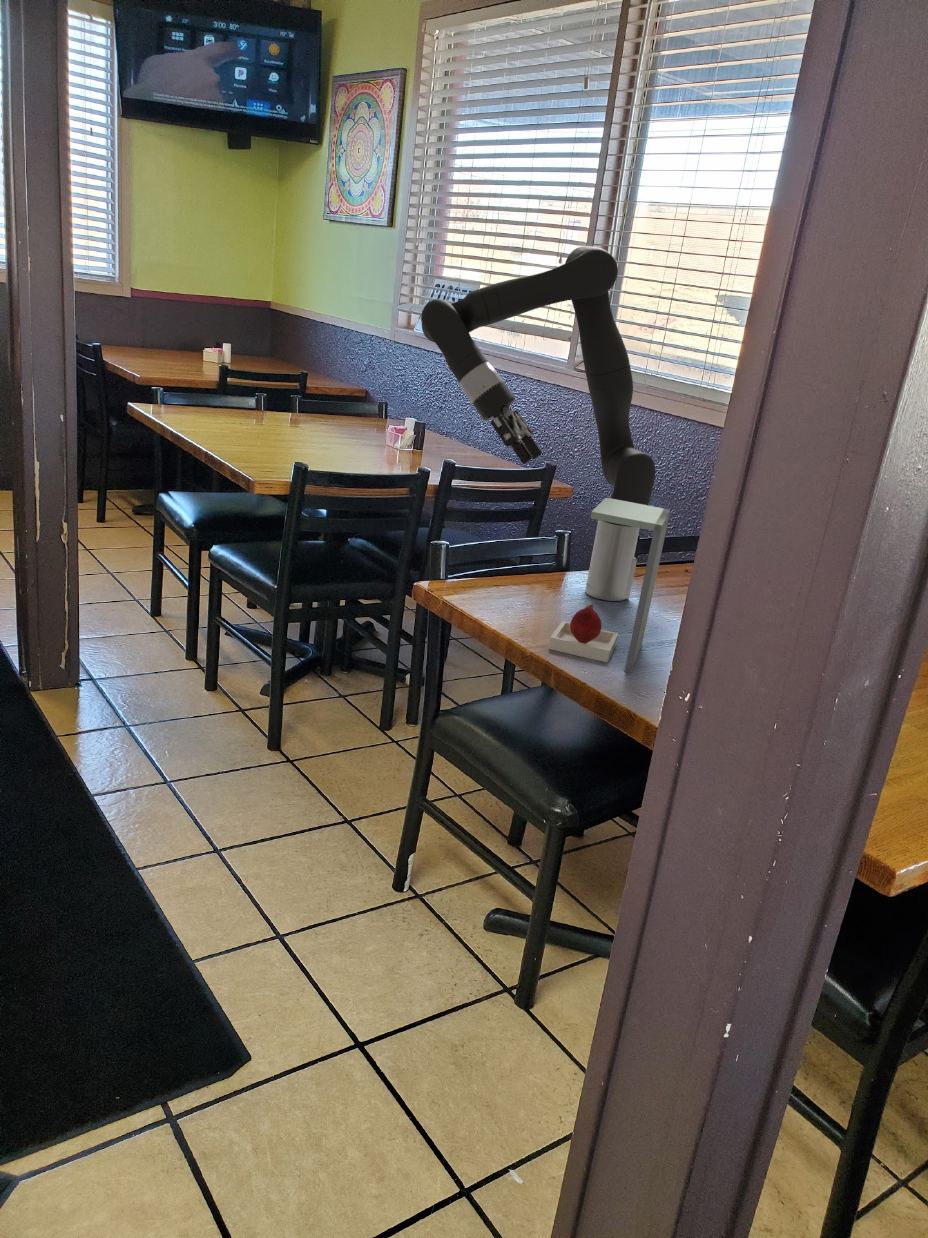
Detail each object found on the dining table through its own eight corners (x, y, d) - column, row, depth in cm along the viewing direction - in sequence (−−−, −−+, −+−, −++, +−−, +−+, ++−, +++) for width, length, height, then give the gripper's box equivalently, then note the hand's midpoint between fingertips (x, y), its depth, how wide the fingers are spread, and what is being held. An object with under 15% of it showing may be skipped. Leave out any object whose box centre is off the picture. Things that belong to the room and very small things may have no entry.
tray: (548, 648, 172) (550, 637, 171) (560, 631, 182) (562, 620, 181) (607, 662, 169) (609, 650, 168) (616, 644, 179) (618, 633, 178)
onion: (589, 652, 171) (597, 611, 169) (562, 643, 174) (569, 603, 172) (602, 645, 176) (610, 605, 174) (575, 636, 179) (582, 597, 176)
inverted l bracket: (564, 657, 169) (591, 511, 160) (580, 632, 183) (605, 497, 175) (631, 672, 166) (662, 525, 157) (641, 646, 180) (670, 509, 172)
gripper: (492, 380, 176) (540, 451, 177) (510, 378, 189) (555, 444, 190) (461, 404, 179) (509, 474, 180) (482, 400, 192) (526, 465, 193)
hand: (533, 458), depth 185 cm, fingers open, 8 cm apart
